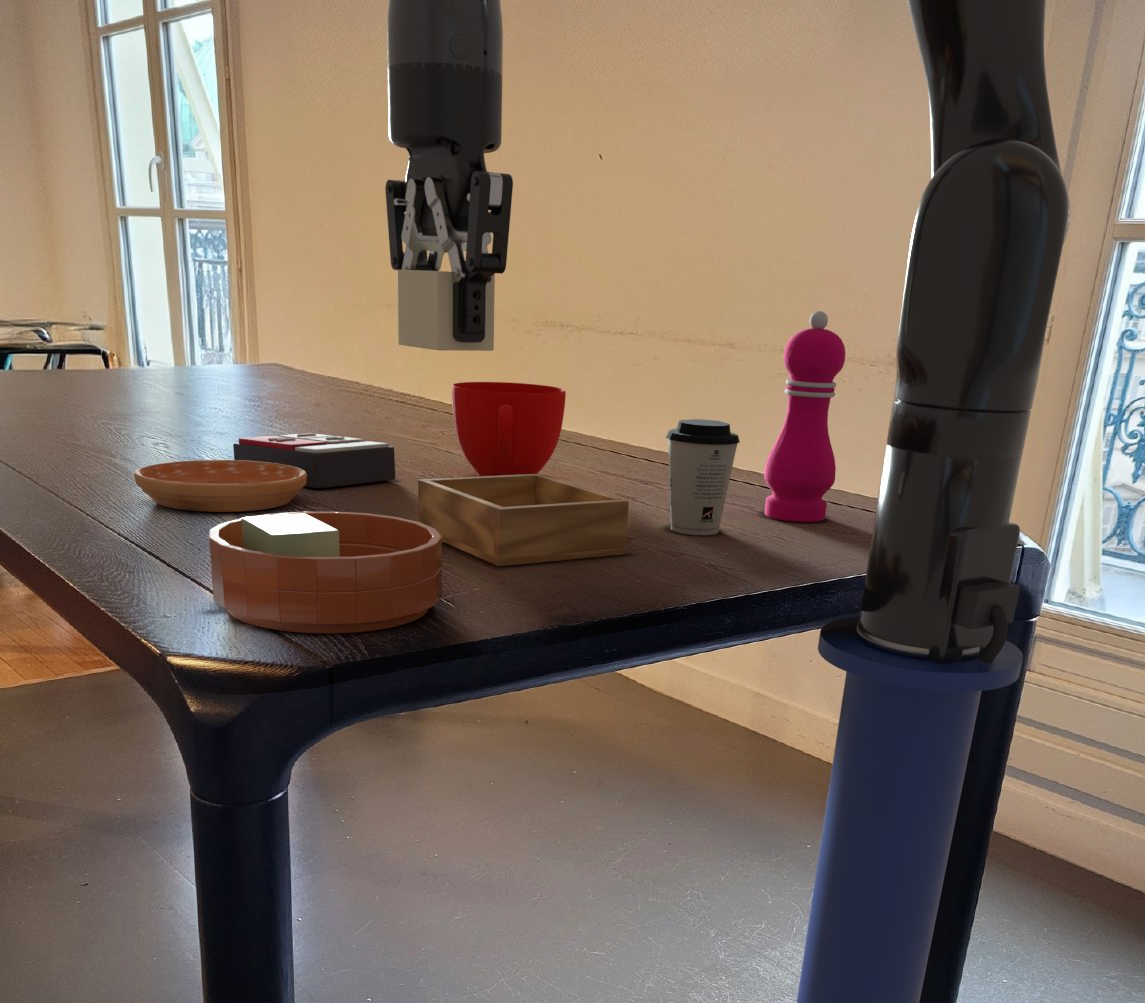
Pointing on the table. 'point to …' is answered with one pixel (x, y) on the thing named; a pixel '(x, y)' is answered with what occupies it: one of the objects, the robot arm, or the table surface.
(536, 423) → the ceramic cup
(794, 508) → the pepper mill
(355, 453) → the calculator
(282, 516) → the packet
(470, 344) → the block
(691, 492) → the coffee cup
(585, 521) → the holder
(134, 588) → the table surface
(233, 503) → the saucer
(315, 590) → the bowl
